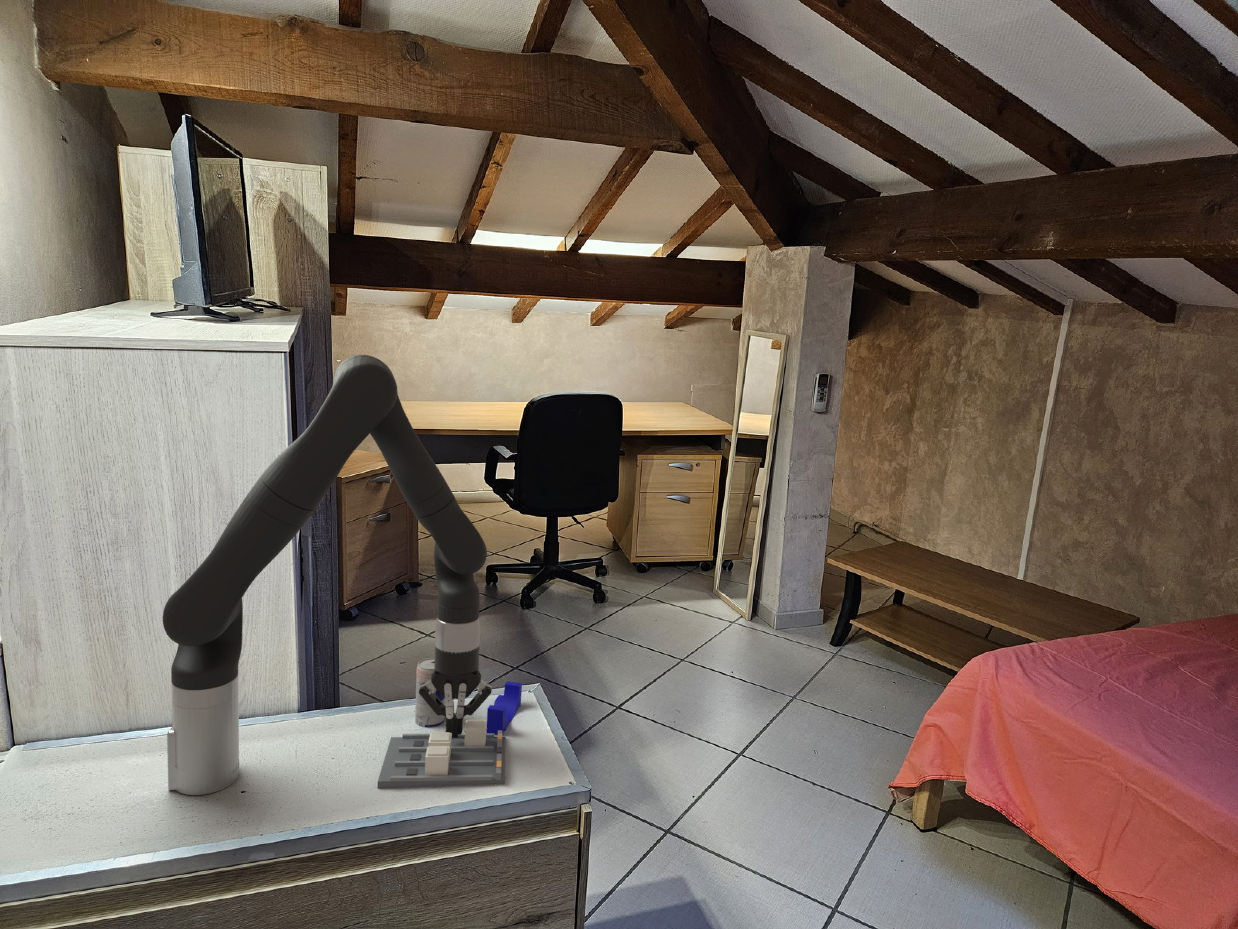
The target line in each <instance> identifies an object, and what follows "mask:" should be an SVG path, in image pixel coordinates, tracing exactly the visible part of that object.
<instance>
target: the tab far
mask: <svg viewBox="0 0 1238 929" xmlns="http://www.w3.org/2000/svg"><path fill="white" fill-rule="evenodd" d="M464 726H465V727H464V734H465V741H464V746H485V743H486V730H487V719H486V720H485V719H467V720H465V725H464Z"/></svg>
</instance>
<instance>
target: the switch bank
mask: <svg viewBox="0 0 1238 929" xmlns="http://www.w3.org/2000/svg"><path fill="white" fill-rule="evenodd" d="M429 737H430V733H402V736H391V737H390V740H389V743H388V746H387V750H386V753H385V756H384V760H383V763H382V765H381V769H380V772H379V777H378V779H377V789H396V788H397V789H399V788H400V789H401V788H427V787H428V788H429V787H431V788H432V787H433V788H435V787H455V786H456V787H458V786H463V787H464V786H465V787H466V786H490V785H493V786H494V785H495V784H496V785H505V777H506V776H505V773H506V772H505V771H506V736H502V730H498V735H497V736H495V735H494V733H486V743H485V746H464V741H465V733H462V734H461V735H458V738H452V741H451V756H450V760H449V770H448V775H425V756H426V751H427V747H428V742H429Z"/></svg>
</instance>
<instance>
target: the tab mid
mask: <svg viewBox="0 0 1238 929" xmlns="http://www.w3.org/2000/svg"><path fill="white" fill-rule="evenodd" d="M429 734H430V737H429V742H428V747H429V746H448V747H450V753H449V760H450V756H451V741H452V733H450V732H446V731H445V732H441V731H440V732H439V731H437V732H436V731H434V732H430V733H429Z"/></svg>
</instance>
